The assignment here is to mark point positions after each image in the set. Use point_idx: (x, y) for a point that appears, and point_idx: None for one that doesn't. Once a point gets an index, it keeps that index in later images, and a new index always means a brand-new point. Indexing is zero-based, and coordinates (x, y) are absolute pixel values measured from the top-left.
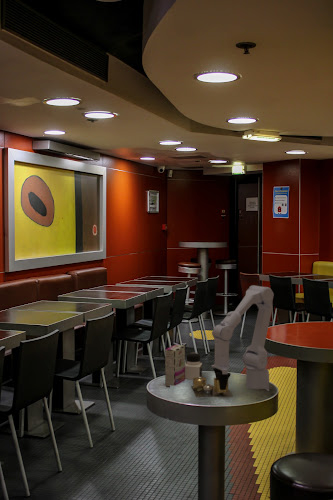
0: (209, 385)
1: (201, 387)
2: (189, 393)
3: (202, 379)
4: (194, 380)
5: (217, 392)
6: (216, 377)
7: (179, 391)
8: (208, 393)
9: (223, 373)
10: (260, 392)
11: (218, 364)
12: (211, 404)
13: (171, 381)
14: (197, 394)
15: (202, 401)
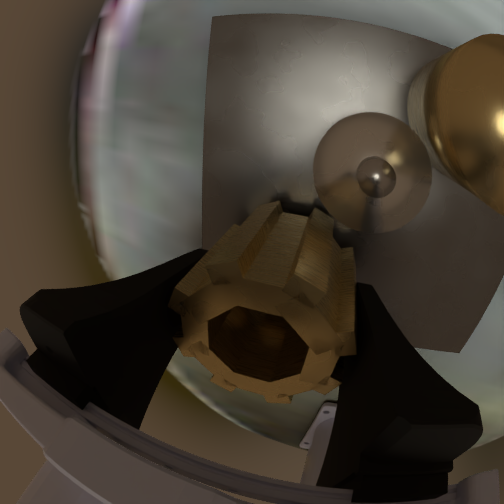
0: (360, 186)
1: (417, 107)
2: (412, 15)
3: (482, 140)
4: (486, 36)
5: None
6: (347, 331)
7: None
8: (307, 144)
9: (4, 340)
10: (301, 425)
11: (32, 483)
12: (110, 121)
13: None
14: (288, 33)
15: (168, 64)
